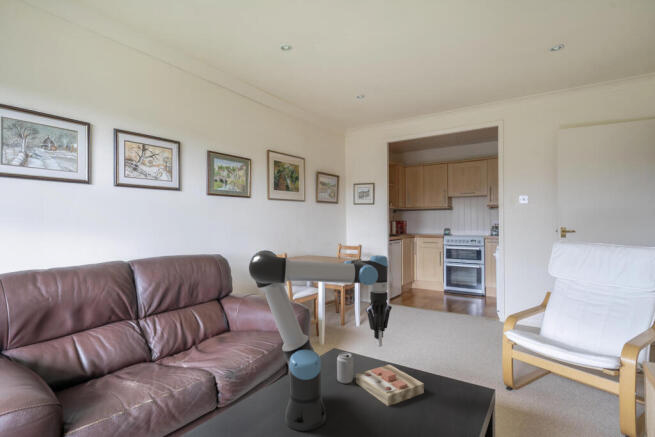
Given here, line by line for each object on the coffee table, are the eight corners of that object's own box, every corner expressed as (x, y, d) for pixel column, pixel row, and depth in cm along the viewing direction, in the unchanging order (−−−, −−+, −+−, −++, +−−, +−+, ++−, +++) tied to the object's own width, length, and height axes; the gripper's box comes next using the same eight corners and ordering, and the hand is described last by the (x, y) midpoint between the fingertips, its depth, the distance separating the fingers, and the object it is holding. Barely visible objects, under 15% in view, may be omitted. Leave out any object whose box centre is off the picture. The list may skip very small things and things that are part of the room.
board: (387, 406, 130) (387, 394, 130) (356, 383, 149) (356, 373, 149) (423, 392, 140) (423, 382, 140) (389, 372, 159) (389, 363, 159)
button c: (378, 381, 147) (378, 373, 147) (372, 377, 151) (372, 369, 151) (385, 378, 149) (385, 370, 149) (379, 375, 153) (379, 367, 153)
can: (353, 384, 147) (353, 358, 147) (337, 384, 147) (337, 357, 147) (352, 376, 155) (352, 351, 155) (337, 376, 155) (336, 351, 155)
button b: (388, 384, 141) (388, 376, 141) (381, 380, 145) (381, 372, 145) (395, 382, 143) (395, 373, 143) (389, 378, 147) (389, 370, 147)
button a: (399, 395, 135) (399, 386, 135) (392, 390, 139) (392, 382, 139) (407, 392, 137) (407, 383, 137) (400, 388, 141) (400, 379, 141)
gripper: (372, 294, 135) (371, 351, 135) (396, 291, 141) (395, 345, 141) (361, 291, 142) (361, 345, 141) (384, 288, 148) (384, 340, 148)
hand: (378, 345), depth 141 cm, fingers closed
